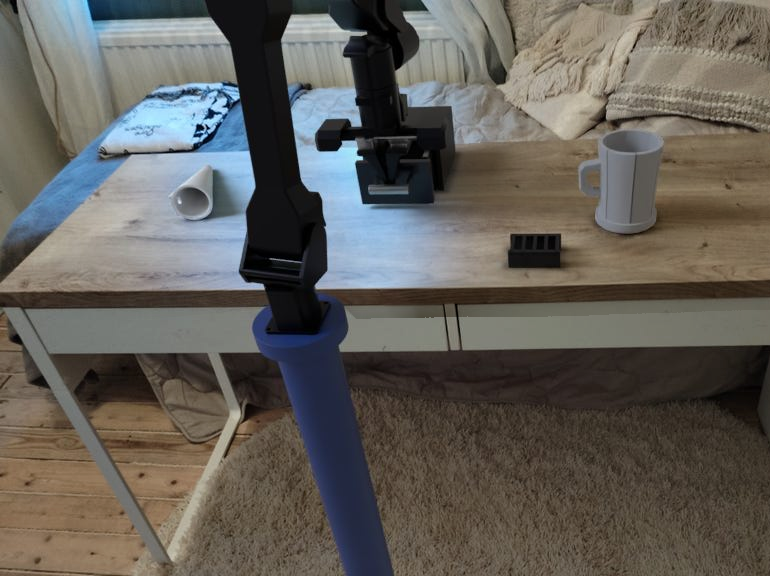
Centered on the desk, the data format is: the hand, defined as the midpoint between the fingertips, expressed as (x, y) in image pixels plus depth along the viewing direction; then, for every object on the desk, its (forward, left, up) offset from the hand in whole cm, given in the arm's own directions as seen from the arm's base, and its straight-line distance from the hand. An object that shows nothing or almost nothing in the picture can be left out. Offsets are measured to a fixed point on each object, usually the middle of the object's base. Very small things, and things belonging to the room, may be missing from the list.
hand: (391, 189), depth 106 cm
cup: (-2, -34, -5) cm, 34 cm away
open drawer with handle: (+7, 0, -4) cm, 8 cm away
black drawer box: (+16, 0, -4) cm, 16 cm away
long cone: (+9, +34, -5) cm, 35 cm away
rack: (-12, -22, -4) cm, 26 cm away
